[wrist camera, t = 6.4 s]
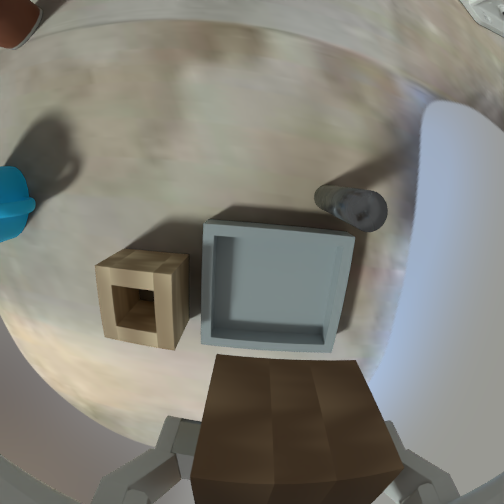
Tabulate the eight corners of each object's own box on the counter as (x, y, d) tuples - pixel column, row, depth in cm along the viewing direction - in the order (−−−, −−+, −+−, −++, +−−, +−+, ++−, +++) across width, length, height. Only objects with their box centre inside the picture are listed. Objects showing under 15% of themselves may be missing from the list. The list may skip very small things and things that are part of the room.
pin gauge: (340, 186, 21) (389, 193, 12) (337, 211, 21) (384, 234, 13) (315, 183, 21) (352, 187, 12) (312, 208, 21) (347, 229, 13)
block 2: (355, 360, 9) (404, 467, 4) (324, 441, 10) (342, 529, 6) (216, 354, 9) (190, 476, 4) (215, 437, 10) (201, 531, 6)
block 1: (189, 254, 23) (171, 274, 18) (189, 319, 24) (174, 350, 19) (124, 248, 23) (94, 265, 18) (128, 310, 24) (104, 337, 19)
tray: (346, 231, 22) (355, 237, 20) (326, 339, 24) (331, 352, 22) (208, 219, 22) (203, 223, 20) (205, 330, 24) (201, 344, 22)
